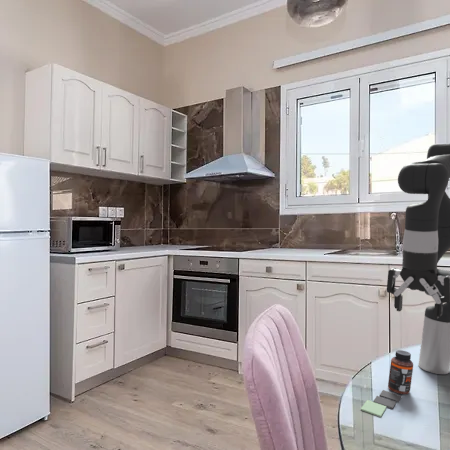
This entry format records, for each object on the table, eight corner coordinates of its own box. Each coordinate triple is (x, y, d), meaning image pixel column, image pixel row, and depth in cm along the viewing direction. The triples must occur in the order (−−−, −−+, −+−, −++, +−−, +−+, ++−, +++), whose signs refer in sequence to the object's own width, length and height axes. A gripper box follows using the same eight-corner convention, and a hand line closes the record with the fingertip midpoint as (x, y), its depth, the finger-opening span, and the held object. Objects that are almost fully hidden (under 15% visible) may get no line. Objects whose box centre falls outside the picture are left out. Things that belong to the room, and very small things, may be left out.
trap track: (375, 388, 119) (375, 387, 119) (401, 397, 115) (401, 395, 115) (360, 410, 106) (360, 408, 106) (389, 420, 102) (389, 418, 102)
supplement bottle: (408, 397, 115) (413, 358, 114) (385, 390, 118) (390, 352, 117) (411, 390, 120) (416, 352, 119) (389, 383, 123) (394, 346, 122)
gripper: (457, 249, 96) (453, 315, 99) (394, 243, 105) (392, 304, 108) (449, 254, 91) (446, 325, 93) (384, 247, 100) (382, 312, 102)
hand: (417, 313), depth 100 cm, fingers open, 8 cm apart
